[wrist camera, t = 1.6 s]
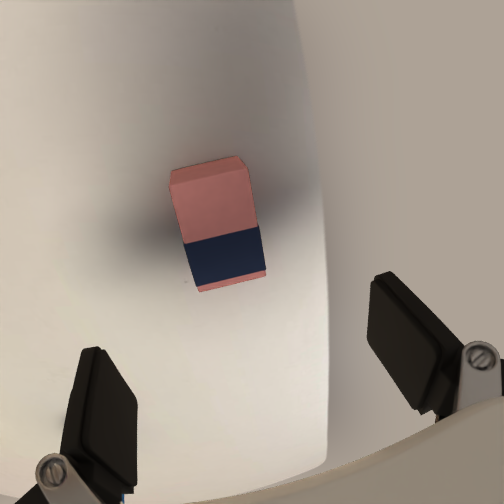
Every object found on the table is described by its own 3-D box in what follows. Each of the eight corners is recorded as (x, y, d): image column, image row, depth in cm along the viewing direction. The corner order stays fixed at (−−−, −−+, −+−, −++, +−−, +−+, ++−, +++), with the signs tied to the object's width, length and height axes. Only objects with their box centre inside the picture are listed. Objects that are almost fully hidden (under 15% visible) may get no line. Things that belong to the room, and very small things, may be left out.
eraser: (169, 170, 18) (167, 186, 15) (238, 155, 18) (249, 167, 16) (195, 265, 21) (198, 293, 18) (255, 250, 22) (267, 276, 19)
